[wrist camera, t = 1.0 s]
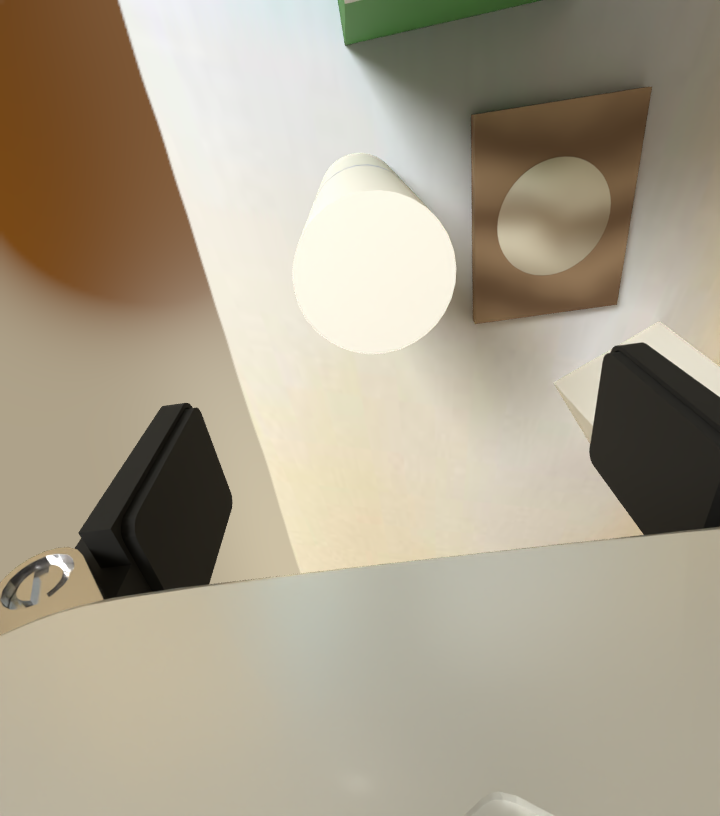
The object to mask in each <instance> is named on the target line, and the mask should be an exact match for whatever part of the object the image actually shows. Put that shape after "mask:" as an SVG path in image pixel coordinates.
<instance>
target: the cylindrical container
mask: <svg viewBox="0 0 720 816" xmlns="http://www.w3.org/2000/svg"><path fill="white" fill-rule="evenodd" d="M292 278H293V286H294V293H295V296H296V299H297V302H298V305H299V307H300V309H301V311H302V313H303V314H304V316H305V318H306V320H307V321H308V322H309V324H310V325H311V326H312V327H313V328H314V329H315V330H316V332H317V333H318V334H320V335H321V336H322V337H324V338H325V339H326V340H328V341H329V342H330V343H332V344H334V345H336V346H338V347H340V348H342V349H346V350H349V351H352V352H356V353H364V354H382V353H388V352H392V351H396V350H400V349H402V348H404V347H406V346H409V345H411V344H413V343H415V342H416V341H417V340H419V339H420V338H422V337H423V336H425V335H426V334H427V333H428V332H429V331H430V330H431V329H432V328H433V327H434V326H435V325H436V324H437V323H438V321H439V320H440V319H441V317H442V316H443V314H444V313H445V311H446V309H447V307H448V305H449V302H450V300H451V298H452V294H453V291H454V287H455V281H456V261H455V254H454V249H453V246H452V244H451V241H450V238H449V235H448V233H447V232H446V230H445V229H444V227H443V226H442V224H441V222H440V221H439V219H438V218H437V217H436V216H435V215H434V214H433V213H432V212H431V211H430V210H429V209H428V208H427V207H426V206H425V204H424V203H423V202H422V201H421V200H420V199H419V198H418V197H417V196H416V195H415V194H414V193H413V192H412V191H411V190H410V189H409V188H408V187H407V185H406V184H405V183H404V182H403V181H402V180H401V179H400V178H399V177H398V176H397V175H396V174H395V173H394V172H393V171H392V170H391V169H390V167H389V166H388V165H387V164H386V163H385V162H384V161H382V160H381V159H379V158H377V157H376V156H373V155H370V154H366V153H353V154H349V155H346V156H344V157H342V158H340V159H338V160H337V161H336V162H335V163H334V164H332V165H331V167H330V168H329V169H328V171H327V172H326V174H325V176H324V178H323V180H322V182H321V185H320V188H319V190H318V193H317V196H316V198H315V201H314V203H313V206H312V209H311V211H310V214H309V216H308V219H307V222H306V224H305V227H304V229H303V232H302V235H301V237H300V240H299V243H298V245H297V249H296V253H295V256H294V260H293V273H292Z"/></svg>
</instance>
